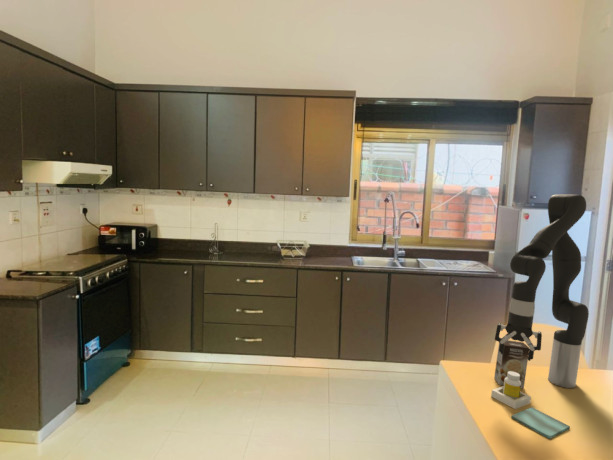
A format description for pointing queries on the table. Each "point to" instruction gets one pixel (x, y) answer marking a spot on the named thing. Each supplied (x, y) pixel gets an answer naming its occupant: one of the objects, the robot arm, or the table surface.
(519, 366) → the coffee box
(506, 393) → the supplement bottle
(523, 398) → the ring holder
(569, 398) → the table surface
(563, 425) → the teal board
